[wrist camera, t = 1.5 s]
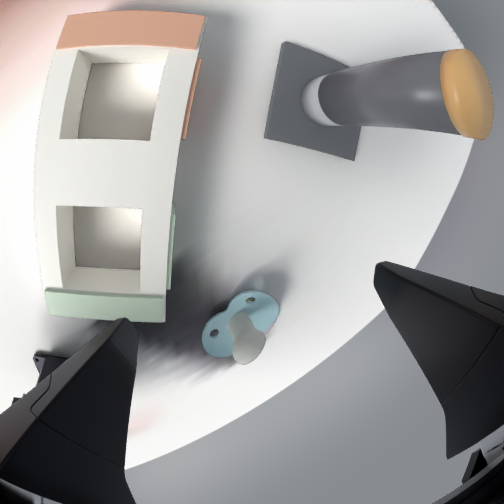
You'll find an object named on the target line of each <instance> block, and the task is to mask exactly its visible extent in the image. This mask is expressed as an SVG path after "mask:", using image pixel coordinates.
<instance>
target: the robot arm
mask: <svg viewBox="0 0 504 504" xmlns="http://www.w3.org/2000/svg"><path fill="white" fill-rule="evenodd" d="M374 287H375V290H376V291H377V293H378V295H379V297H380V299H381V301H382V303H383V305H384V307H385V309H386V311H387V313H388V315H389V317H390V319H391V320H392V322H393V323H394V325H395V327H396V328H397V329H398V331H399V333H400V334H401V336H402V338H403V339H404V341H405V342H406V344H407V346H408V347H409V349H410V351H411V352H412V354H413V356H414V357H415V359H416V360H417V362H418V364H419V366H420V367H421V369H422V371H423V373H424V374H425V376H426V378H427V380H428V381H429V383H430V385H431V387H432V389H433V391H434V392H435V394H436V396H437V398H438V400H439V402H440V404H441V406H442V408H443V410H444V413H445V420H446V457H447V459H450V458H452V457H454V456H455V455H457V454H459V453H461V452H463V451H464V450H466V449H468V448H470V447H471V446H473V445H474V444H476V443H479V446H480V448H479V449H477V450H476V451H475V452H473V453H472V455H471V458H470V461H469V464H468V466H467V469H466V472H465V474H464V476H463V479H462V483H463V485H461V486H460V487H458V488H457V489H455V490H454V491H452V492H451V493H449V494H447V495H446V496H444V497H443V498H441V499H439V500H438V501H436V502H434V503H432V504H504V296H503V295H499V294H496V293H492V292H489V291H485V290H482V289H478V288H475V287H472V286H470V287H469V286H468V285H465V284H461V283H458V282H455V281H452V280H449V279H445V278H442V277H439V276H435V275H432V274H429V273H426V272H422V271H419V270H416V269H412V268H409V267H405V266H402V265H398V264H395V263H391V262H388V261H384V262H380V263H377V264H376V267H375V274H374ZM137 351H138V333H137V331H136V330H135V328H134V327H133V325H132V324H131V322H130V321H129V319H128V318H126V317H123V318H118V319H116V320H115V321H113V322H112V323H111V324H110V325H108V326H107V327H106V328H105V329H103V330H102V331H101V332H100V333H99V334H97V335H96V336H95V337H94V338H93V339H91V340H90V341H89V342H88V343H87V344H85V345H84V346H83V347H82V348H81V349H79V350H78V351H77V352H76V353H75V354H73V355H72V356H71V357H70V358H69V359H68V358H60V357H53V356H47V355H41V354H34V357H33V360H34V362H35V365H36V367H37V370H38V372H39V374H40V375H39V378H38V381H37V384H36V387H34V388H33V389H32V390H31V391H29V392H28V393H27V394H23V396H22V398H16V397H14V398H13V402H12V405H11V406H10V407H9V408H8V409H7V410H5V411H4V412H3V413H2V414H0V504H136V503H135V500H134V498H133V496H132V494H131V492H130V489H129V487H128V484H127V482H126V479H125V473H124V467H125V454H126V442H127V432H128V423H129V415H130V407H131V400H132V393H133V387H134V381H135V374H136V366H137Z"/></svg>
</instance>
